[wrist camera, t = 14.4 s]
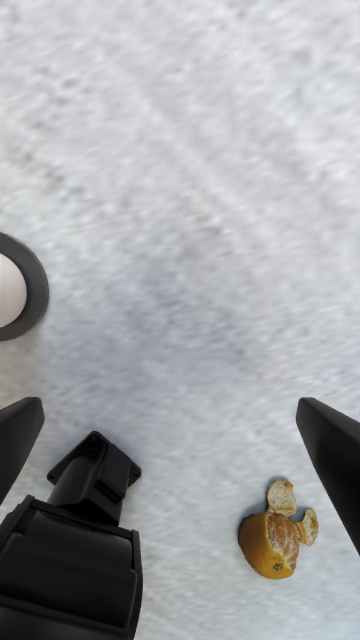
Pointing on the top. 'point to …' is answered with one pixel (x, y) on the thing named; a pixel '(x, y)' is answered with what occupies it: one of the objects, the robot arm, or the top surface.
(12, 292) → the can
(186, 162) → the top surface
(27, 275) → the coaster
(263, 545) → the fruit
